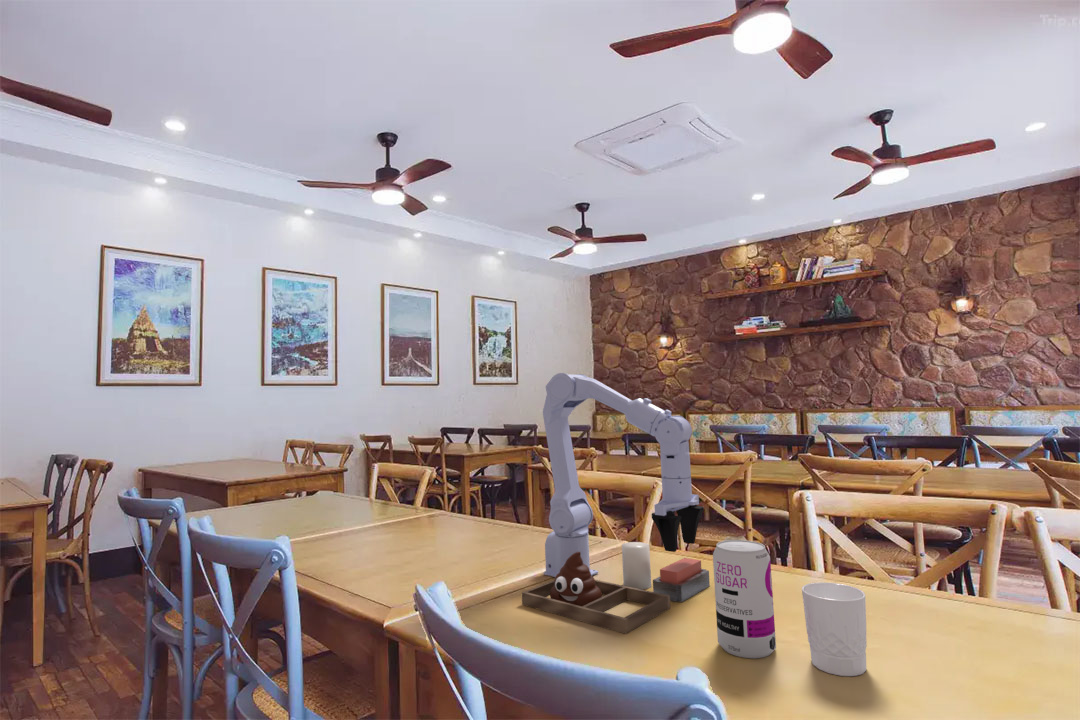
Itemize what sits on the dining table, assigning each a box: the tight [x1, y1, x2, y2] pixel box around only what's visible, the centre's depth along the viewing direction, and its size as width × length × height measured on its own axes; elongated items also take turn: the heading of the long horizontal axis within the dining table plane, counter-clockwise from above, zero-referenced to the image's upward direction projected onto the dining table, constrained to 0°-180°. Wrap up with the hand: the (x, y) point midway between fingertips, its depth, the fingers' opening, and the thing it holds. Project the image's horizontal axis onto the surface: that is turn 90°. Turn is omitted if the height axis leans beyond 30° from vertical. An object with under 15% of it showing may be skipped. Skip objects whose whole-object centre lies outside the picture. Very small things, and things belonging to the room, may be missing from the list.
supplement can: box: [712, 540, 777, 659], centre depth 85 cm, size 8×8×15 cm
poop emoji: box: [549, 552, 603, 606], centre depth 108 cm, size 10×8×9 cm
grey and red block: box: [652, 568, 711, 603], centre depth 112 cm, size 6×12×3 cm, turn 138°
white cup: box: [801, 581, 867, 677], centre depth 79 cm, size 8×8×10 cm
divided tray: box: [521, 578, 671, 635], centre depth 105 cm, size 23×14×2 cm, turn 48°
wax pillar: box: [621, 541, 652, 590], centre depth 116 cm, size 6×6×8 cm
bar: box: [659, 557, 702, 584], centre depth 112 cm, size 4×10×3 cm, turn 138°
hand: (680, 546), depth 112 cm, fingers open, 7 cm apart
